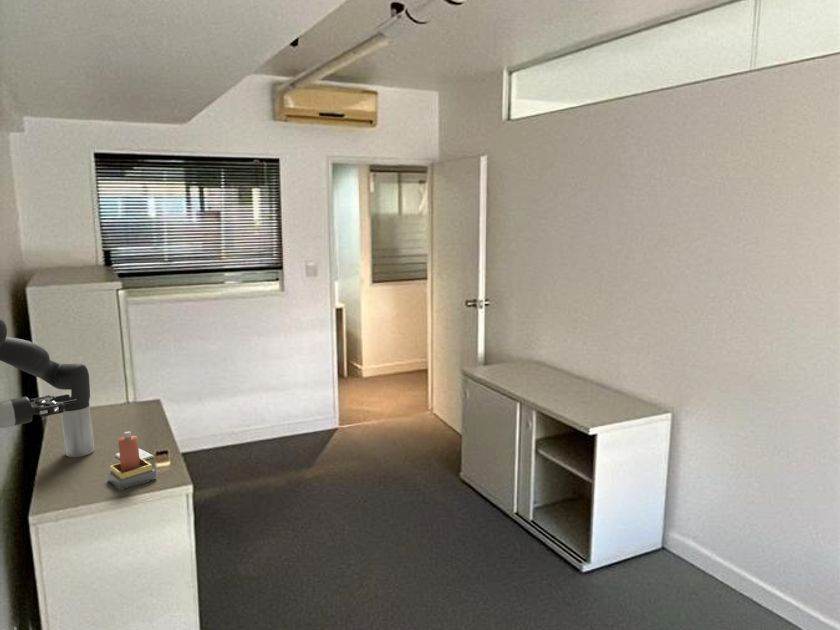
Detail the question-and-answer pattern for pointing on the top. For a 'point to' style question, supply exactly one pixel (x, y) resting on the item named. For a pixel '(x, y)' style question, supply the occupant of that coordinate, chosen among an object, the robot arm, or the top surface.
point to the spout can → (129, 452)
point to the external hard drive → (140, 455)
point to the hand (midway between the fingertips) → (73, 400)
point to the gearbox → (131, 475)
